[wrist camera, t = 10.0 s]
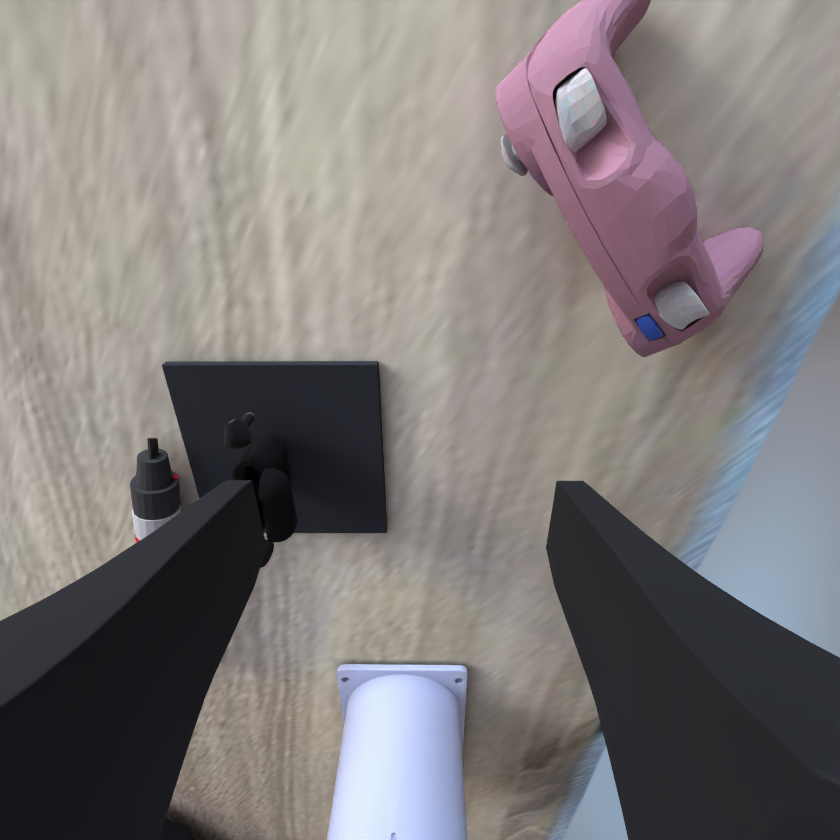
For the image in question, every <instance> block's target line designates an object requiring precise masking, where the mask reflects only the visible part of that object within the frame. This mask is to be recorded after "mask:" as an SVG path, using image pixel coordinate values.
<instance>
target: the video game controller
mask: <svg viewBox="0 0 840 840" xmlns="http://www.w3.org/2000/svg"><path fill="white" fill-rule="evenodd" d="M650 1H651V0H583V1H581V2H580V3H578V4H577V5H575V6H574V7H573V8H571V9H570V10H568V11H567V12H565V13H564V14H563V15H562V16H561V17H560V18H559V19H558V20H557V21H556V22H555V23H554V24H553V25H552V26H551V27H550V28H549V30H548V31H547V32H546V33H545V35H544V36H543V37H542V38H541V39H540V40H539V41H538V43H537V44H536V45H535V46H534V47H533V48H532V50H531V51H530V52H529V53H528V54H527V56H526V57H525V58H524V59H523V60H522V61H521V62H520V63H519V64H518V65H517V66H516V67H515V68H514V69H513V70H512V71H511V72H510V73H509V74H508V76H507V77H506V78H505V79H504V80H503V81H502V82H501V83H500V84H499V85H498V86H497V88H496V103H497V106H498V109H499V112H500V115H501V118H502V121H503V124H504V127H505V131H506V133H507V135H508V136H507V135H504V136H503V137H502V138H501V148H502V155H503V159H504V161H505V163H506V164H507V166H508V167H509V168H510V169H511V170H513V171H514V172H515V173H518V174H519V175H521V176H523V175H526V174H527V170H528V171H529V172H530V174H531V175H532V177H533V178H534V179H535V180H536V181H537V183H538V184H539V185H540V186H541V187H542V188H543V189H544V190H545V191H546V192H547V193H549V194H550V195H551V196H554V198H555V200H556V202H557V204H558V206H559V208H560V210H561V212H562V214H563V216H564V218H565V220H566V222H567V223H568V225H569V227H570V229H571V231H572V232H573V234H574V236H575V238H576V239H577V241H578V243H579V245H580V247H581V248H582V250H583V252H584V254H585V256H586V257H587V259H588V260H589V262H590V264H591V265H592V267H593V269H594V270H595V272H596V274H597V275H598V277H599V278H600V280H601V282H602V283H603V286H604V290H605V294H606V297H607V300H608V303H609V306H610V309H611V311H612V314H613V316H614V318H615V321H616V323H617V325H618V327H619V329H620V331H621V333H622V335H623V337H624V338H625V340H626V341H627V343H628V344H629V346H630V347H631V348H632V349H633V350H634V351H635V352H636V353H637V354H639V355H640V356H643V357H646V356H649V355H651V354H654V353H657V352H659V351H662V350H665V349H667V348H670V347H673V346H675V345H678V344H680V343H682V342H683V341H684V340H686V339H688V338H690V337H692V336H693V335H695V334H697V333H699V332H701V331H702V330H704V329H705V328H706V327H708V326H709V325H711V324H712V323H713V322H714V321H715V320H716V319H717V318H718V317H719V316H720V314H721V313H722V311H723V310H724V308H725V307H726V305H727V303H728V302H729V300H730V299H731V297H732V295H733V294H734V293H735V291H736V290H737V289H738V287H739V286H740V285H741V283H742V282H743V281H744V279H745V278H746V277H747V275H748V274H749V273H750V271H751V270H752V269H753V267H754V266H755V264H756V263H757V261H758V260H759V258H760V257H761V254H762V252H763V237H762V234H761V232H760V231H757V230H755V229H752V228H749V227H741V228H736V229H733V230H730V231H727V232H725V233H723V234H719V235H717V236H714V237H712V238H710V239H708V240H706V241H704V242H702V240H701V238H700V236H699V233H698V228H697V208H696V204H695V199H694V194H693V190H692V187H691V184H690V182H689V179H688V177H687V175H686V172H685V171H684V169H683V168H682V167H681V166H680V164H679V163H678V162H677V160H676V159H675V158H674V157H673V155H672V154H671V153H670V152H669V151H668V150H667V149H666V148H665V147H664V146H663V145H662V144H660V143H659V142H658V141H657V140H656V139H655V138H654V137H653V136H652V134H651V132H650V130H649V128H648V126H647V123H646V121H645V119H644V117H643V115H642V113H641V111H640V108H639V106H638V104H637V102H636V100H635V98H634V96H633V93H632V91H631V89H630V88H629V86H628V84H627V82H626V81H625V79H624V77H623V75H622V74H621V72H620V70H619V69H618V67H617V65H616V63H615V62H614V60H613V58H612V57H613V55H614V53H615V52H616V50H617V48H618V47H619V46H620V44H621V43H622V42H623V41H624V40H625V38H626V37H627V36H628V35H629V34H630V32H631V31H632V30H633V29H634V27H635V26H636V25H637V24H638V23H639V21H640V20H641V19H642V18H643V16H644V15H645V13H646V11H647V9H648V6H649V4H650Z"/></svg>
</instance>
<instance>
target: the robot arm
mask: <svg viewBox="0 0 840 840" xmlns="http://www.w3.org/2000/svg"><path fill="white" fill-rule="evenodd" d="M265 549H266V543H265V539H264V534H263V529H262V525H261V520H260V515H259V511H258V506H257V501H256V496H255V492H254V487H253V482H252V480H226V481H225V482H223V483H222V484H220V485H218V486H217V487H215V488H214V489H212V490H211V491H210V492H208V493H207V494H205V495H204V496H203V497H201V498H200V499H198V500H197V501H196V502H194V503H193V504H191V505H190V506H189V507H187V508H186V509H185V510H183V511H182V512H180V513H179V514H178V515H176V516H175V517H173V518H172V519H170V520H169V521H168V522H166V523H165V524H163V525H162V526H161V527H159V528H158V529H156V530H155V531H154V532H152V533H151V534H149V535H148V536H146V537H145V538H143V539H142V540H140V541H139V542H137V543H136V544H134V545H133V546H131V547H130V548H128V549H126V550H125V551H123V552H122V553H120V554H119V555H117V556H116V557H114V558H113V559H111V560H110V561H108V562H107V563H105V564H104V565H102V566H100V567H99V568H97V569H95V570H94V571H92V572H90V573H89V574H87V575H85V576H84V577H82V578H80V579H79V580H77V581H75V582H73V583H72V584H70V585H68V586H66V587H65V588H63V589H61V590H59V591H57V592H56V593H54V594H52V595H50V596H49V597H47V598H45V599H43V600H41V601H39V602H37V603H35V604H33V605H31V606H29V607H27V608H25V609H23V610H21V611H19V612H17V613H15V614H13V615H11V616H9V617H7V618H5V619H3V620H1V621H0V840H159V839H160V836H161V832H162V829H163V826H164V822H165V819H166V815H167V812H168V808H169V805H170V802H171V799H172V796H173V792H174V789H175V786H176V783H177V780H178V777H179V774H180V770H181V767H182V764H183V761H184V758H185V755H186V752H187V748H188V746H189V743H190V740H191V737H192V734H193V731H194V728H195V725H196V722H197V719H198V716H199V713H200V711H201V708H202V705H203V702H204V699H205V697H206V694H207V692H208V689H209V687H210V684H211V682H212V679H213V677H214V675H215V672H216V670H217V668H218V666H219V664H220V661H221V659H222V657H223V655H224V653H225V650H226V648H227V646H228V644H229V642H230V639H231V637H232V635H233V633H234V631H235V628H236V626H237V624H238V622H239V620H240V617H241V615H242V613H243V611H244V608H245V606H246V604H247V602H248V599H249V597H250V595H251V592H252V590H253V588H254V585H255V582H256V579H257V576H258V573H259V570H260V566H261V563H262V559H263V556H264V552H265ZM546 549H547V554H548V558H549V563H550V568H551V572H552V577H553V581H554V585H555V589H556V592H557V595H558V597H559V600H560V603H561V606H562V609H563V612H564V614H565V617H566V620H567V623H568V626H569V628H570V631H571V634H572V637H573V639H574V642H575V645H576V648H577V651H578V653H579V656H580V659H581V662H582V664H583V667H584V670H585V673H586V675H587V678H588V681H589V684H590V687H591V691H592V694H593V697H594V700H595V703H596V707H597V711H598V715H599V719H600V723H601V726H602V730H603V734H604V738H605V742H606V746H607V750H608V754H609V758H610V762H611V766H612V770H613V774H614V779H615V783H616V787H617V791H618V795H619V799H620V804H621V808H622V812H623V817H624V821H625V826H626V830H627V835H628V839H629V840H840V658H839V657H837V656H835V655H833V654H832V653H830V652H828V651H826V650H824V649H822V648H820V647H818V646H816V645H814V644H813V643H811V642H809V641H807V640H805V639H803V638H802V637H800V636H798V635H796V634H795V633H793V632H791V631H789V630H788V629H786V628H784V627H782V626H780V625H779V624H777V623H775V622H773V621H772V620H770V619H768V618H766V617H765V616H763V615H761V614H760V613H758V612H757V611H755V610H753V609H751V608H750V607H748V606H747V605H745V604H743V603H742V602H740V601H739V600H737V599H736V598H734V597H733V596H731V595H729V594H728V593H726V592H725V591H723V590H722V589H720V588H718V587H717V586H715V585H714V584H712V583H711V582H710V581H708V580H707V579H705V578H704V577H702V576H701V575H699V574H698V573H697V572H695V571H694V570H692V569H691V568H690V567H688V566H687V565H686V564H684V563H683V562H682V561H680V560H679V559H677V558H676V557H675V556H673V555H672V554H671V553H669V552H668V551H667V550H665V549H664V548H663V547H662V546H660V545H659V544H658V543H656V542H655V541H654V540H653V539H651V538H650V537H649V536H648V535H646V534H645V533H644V532H643V531H642V530H640V529H639V528H638V527H637V526H636V525H634V524H633V523H632V522H631V521H630V520H628V519H627V518H626V517H625V516H624V515H622V514H621V513H620V512H619V511H618V510H617V509H616V508H614V507H613V506H612V505H611V504H610V503H609V502H607V501H606V500H605V499H604V498H603V497H602V496H600V495H599V494H598V493H597V492H596V491H595V490H593V489H592V488H591V487H590V486H589V485H587V484H586V483H585V482H584V481H557V483H556V489H555V495H554V502H553V508H552V514H551V521H550V527H549V533H548V539H547V546H546ZM467 677H468V674H467V668H466V667H465V666H462V665H400V664H342V665H340V666H339V667H338V670H337V679H338V686H339V693H340V700H341V707H342V714H343V721H344V731H343V738H342V744H341V751H340V758H339V764H338V771H337V777H336V784H335V790H334V797H333V803H332V810H331V816H330V823H329V829H328V836H327V840H467V827H466V811H465V795H464V779H463V762H462V753H463V739H464V723H465V708H466V692H467Z"/></svg>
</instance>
